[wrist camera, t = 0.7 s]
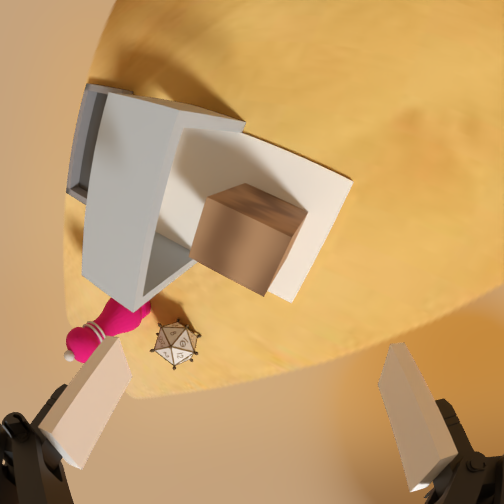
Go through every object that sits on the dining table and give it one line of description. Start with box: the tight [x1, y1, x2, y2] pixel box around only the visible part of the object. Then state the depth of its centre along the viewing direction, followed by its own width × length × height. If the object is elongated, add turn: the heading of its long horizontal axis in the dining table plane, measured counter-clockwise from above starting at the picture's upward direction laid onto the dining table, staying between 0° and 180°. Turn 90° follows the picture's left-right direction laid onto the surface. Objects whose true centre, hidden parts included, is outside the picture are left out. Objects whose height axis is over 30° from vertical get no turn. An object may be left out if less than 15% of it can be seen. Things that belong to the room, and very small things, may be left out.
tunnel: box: [82, 92, 353, 313], centre depth 32 cm, size 26×22×16 cm
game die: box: [149, 318, 202, 370], centre depth 47 cm, size 9×8×10 cm
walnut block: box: [189, 183, 308, 297], centre depth 33 cm, size 9×7×11 cm
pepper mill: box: [64, 297, 151, 363], centre depth 44 cm, size 7×7×20 cm
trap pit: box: [66, 84, 133, 205], centre depth 42 cm, size 10×21×2 cm, turn 159°
